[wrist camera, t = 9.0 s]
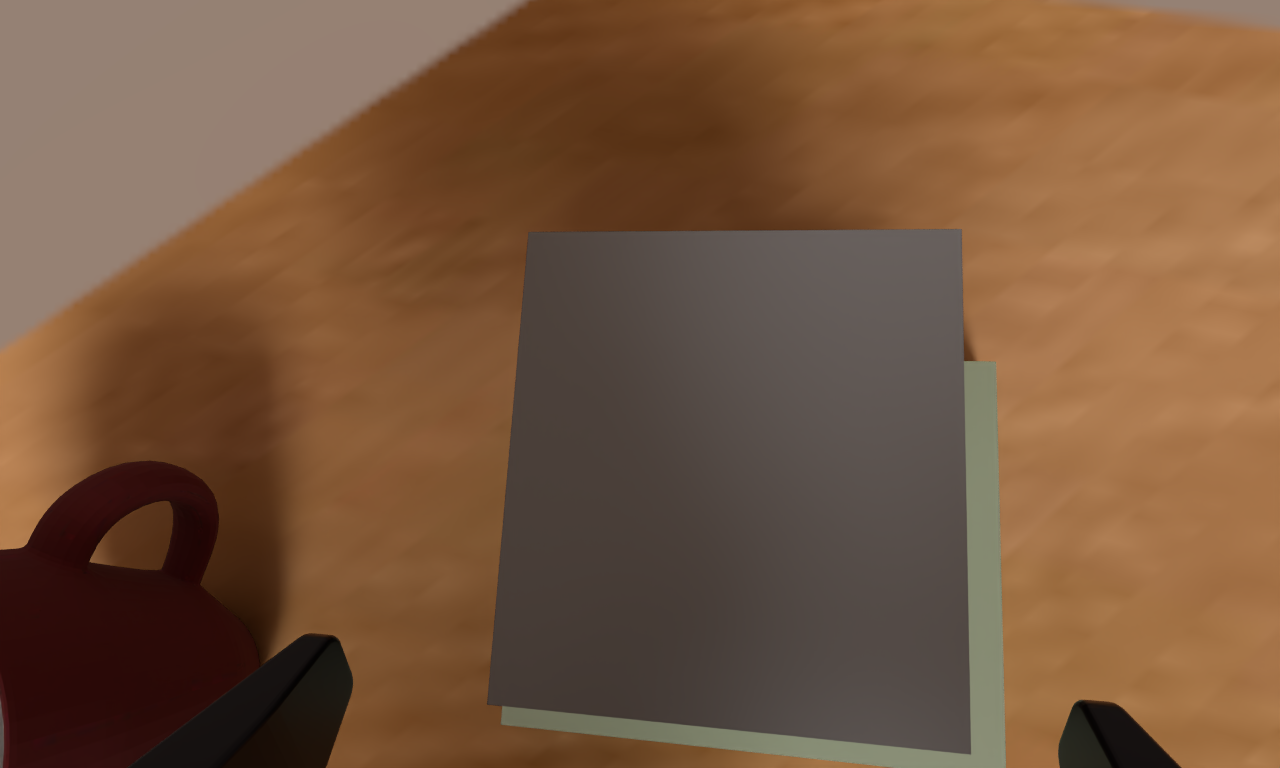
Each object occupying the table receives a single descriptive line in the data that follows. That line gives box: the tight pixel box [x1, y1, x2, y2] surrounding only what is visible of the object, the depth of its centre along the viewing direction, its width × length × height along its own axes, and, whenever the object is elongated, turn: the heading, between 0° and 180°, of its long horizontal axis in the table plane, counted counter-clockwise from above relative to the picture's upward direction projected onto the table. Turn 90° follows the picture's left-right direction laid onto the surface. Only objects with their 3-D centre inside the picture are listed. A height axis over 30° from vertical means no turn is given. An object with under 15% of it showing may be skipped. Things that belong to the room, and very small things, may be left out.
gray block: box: [487, 229, 971, 755], centre depth 15 cm, size 6×6×12 cm
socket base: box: [501, 361, 1006, 768], centre depth 20 cm, size 10×13×4 cm
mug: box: [0, 461, 260, 768], centre depth 19 cm, size 11×8×10 cm
